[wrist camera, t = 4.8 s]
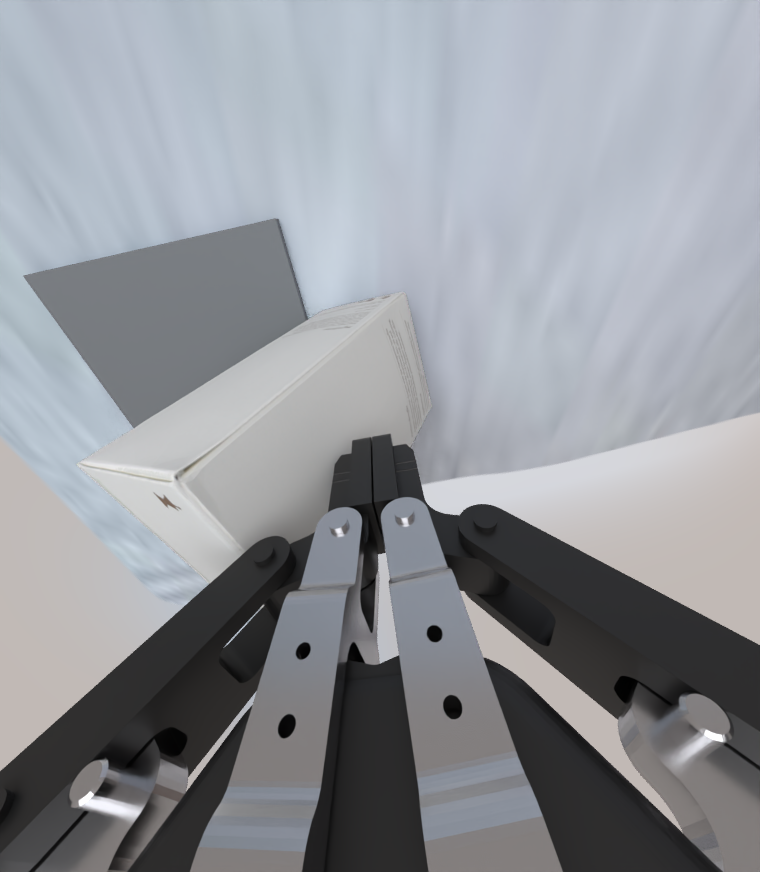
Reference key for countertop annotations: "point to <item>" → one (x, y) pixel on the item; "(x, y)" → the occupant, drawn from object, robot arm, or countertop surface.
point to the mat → (174, 311)
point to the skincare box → (269, 434)
